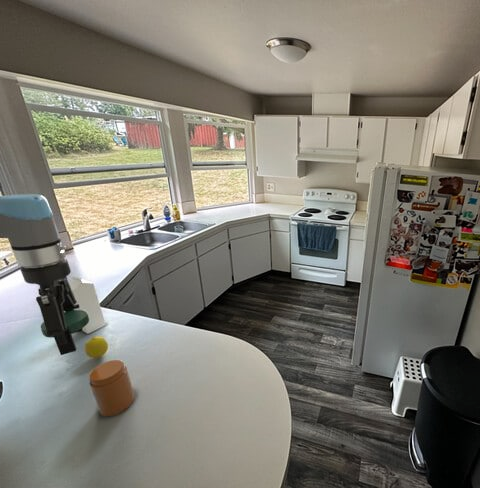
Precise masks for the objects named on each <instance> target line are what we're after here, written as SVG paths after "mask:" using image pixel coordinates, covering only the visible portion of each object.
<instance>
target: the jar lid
mask: <svg viewBox="0 0 480 488" xmlns="http://www.w3.org/2000/svg"><path fill="white" fill-rule="evenodd" d="M64 315H65V320H66V326H67V328H69V329H70V332H71V333H73V334H75V333H74V332H76V331H78V330H80V329H82V328H83V327H84V326H86V325H87V324H88V322H89V317H88V315H87V312H86V311H84V310H72V311H67V312H65V311H64ZM40 330H41V333H42V336H44V337H45V338H51V339H52V338H53V339H54V336H51V337H49V336H47V335H46V334H47V330H46V327H45V323H44V321H43V322H41V324H40Z"/></svg>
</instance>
